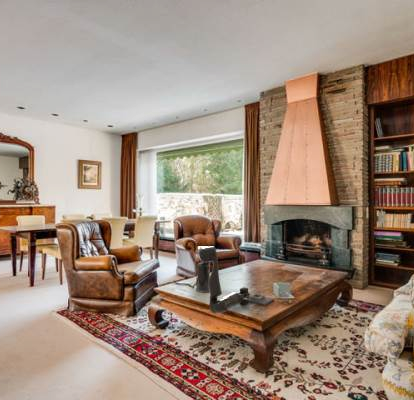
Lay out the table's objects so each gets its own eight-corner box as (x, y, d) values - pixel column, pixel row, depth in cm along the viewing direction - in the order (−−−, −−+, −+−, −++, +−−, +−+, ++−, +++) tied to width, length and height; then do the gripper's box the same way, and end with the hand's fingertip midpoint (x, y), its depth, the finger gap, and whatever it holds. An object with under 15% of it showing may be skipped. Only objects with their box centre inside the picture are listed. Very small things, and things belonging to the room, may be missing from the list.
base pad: (240, 300, 213) (240, 295, 213) (250, 295, 224) (250, 290, 224) (264, 306, 202) (264, 301, 202) (273, 300, 213) (273, 295, 213)
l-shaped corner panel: (278, 298, 218) (278, 287, 218) (273, 292, 230) (273, 282, 230) (295, 298, 218) (295, 287, 218) (289, 292, 230) (289, 282, 230)
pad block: (239, 303, 206) (239, 288, 206) (243, 301, 210) (243, 287, 210) (244, 304, 204) (244, 289, 204) (248, 303, 208) (248, 288, 208)
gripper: (242, 296, 191) (255, 289, 205) (223, 291, 200) (237, 285, 214) (242, 308, 191) (255, 301, 205) (223, 303, 200) (236, 296, 214)
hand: (246, 293), depth 209 cm, fingers closed on pad block, 3 cm apart
